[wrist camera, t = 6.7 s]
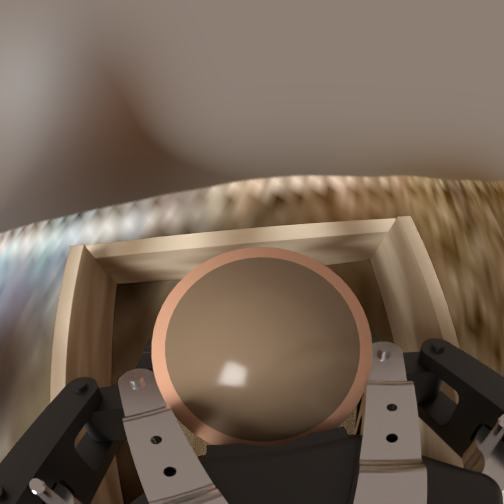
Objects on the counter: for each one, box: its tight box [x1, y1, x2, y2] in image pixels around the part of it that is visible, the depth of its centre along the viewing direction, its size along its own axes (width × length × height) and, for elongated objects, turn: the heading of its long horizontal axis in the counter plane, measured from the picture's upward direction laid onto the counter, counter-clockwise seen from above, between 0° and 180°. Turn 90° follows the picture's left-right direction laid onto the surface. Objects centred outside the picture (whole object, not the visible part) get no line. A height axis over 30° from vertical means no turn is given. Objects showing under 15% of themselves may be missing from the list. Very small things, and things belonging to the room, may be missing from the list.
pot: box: [152, 247, 372, 446], centre depth 11 cm, size 6×6×9 cm
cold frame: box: [51, 216, 464, 504], centre depth 11 cm, size 20×18×6 cm
